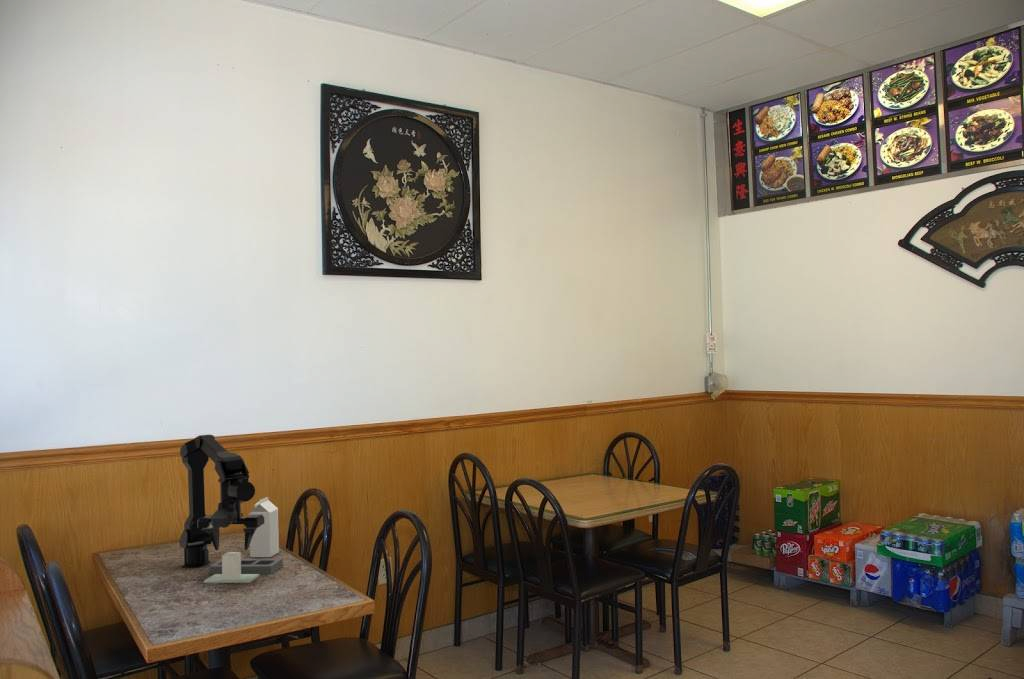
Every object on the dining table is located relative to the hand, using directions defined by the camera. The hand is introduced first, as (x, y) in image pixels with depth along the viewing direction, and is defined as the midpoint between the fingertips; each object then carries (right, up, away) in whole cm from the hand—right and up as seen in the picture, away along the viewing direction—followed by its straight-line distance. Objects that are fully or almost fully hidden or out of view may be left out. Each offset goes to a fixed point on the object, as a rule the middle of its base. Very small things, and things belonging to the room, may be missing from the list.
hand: (231, 550), depth 233 cm
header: (+1, -9, +10) cm, 13 cm away
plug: (0, -8, 0) cm, 8 cm away
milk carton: (+1, -10, +28) cm, 30 cm away
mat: (0, -9, 0) cm, 9 cm away
